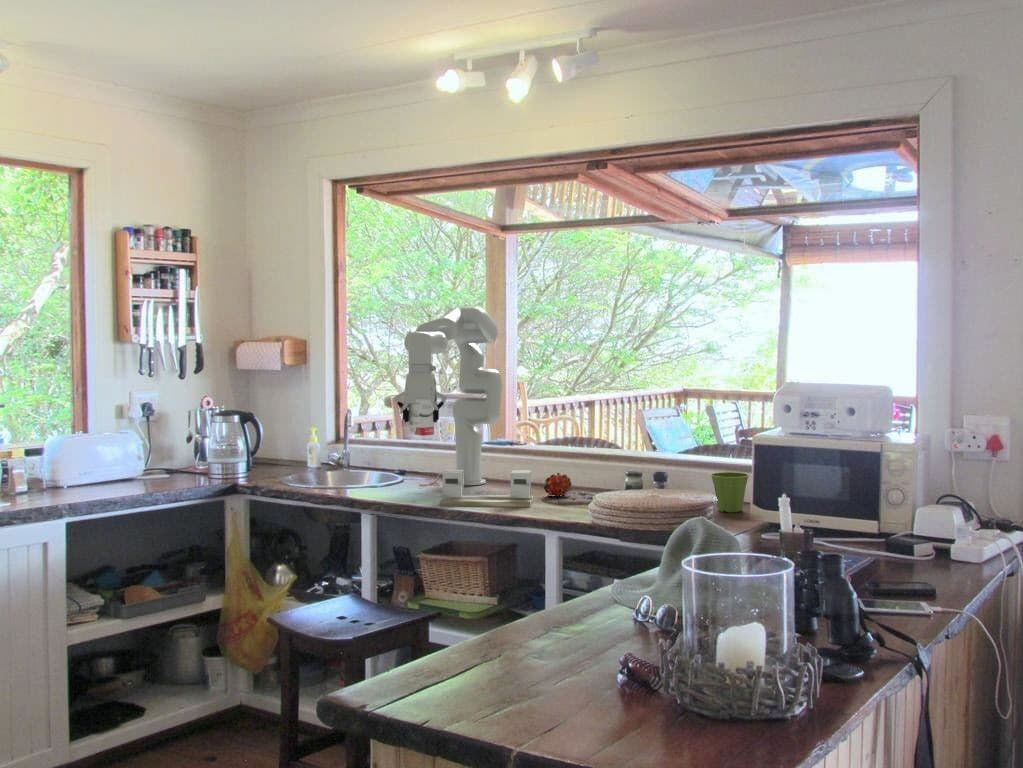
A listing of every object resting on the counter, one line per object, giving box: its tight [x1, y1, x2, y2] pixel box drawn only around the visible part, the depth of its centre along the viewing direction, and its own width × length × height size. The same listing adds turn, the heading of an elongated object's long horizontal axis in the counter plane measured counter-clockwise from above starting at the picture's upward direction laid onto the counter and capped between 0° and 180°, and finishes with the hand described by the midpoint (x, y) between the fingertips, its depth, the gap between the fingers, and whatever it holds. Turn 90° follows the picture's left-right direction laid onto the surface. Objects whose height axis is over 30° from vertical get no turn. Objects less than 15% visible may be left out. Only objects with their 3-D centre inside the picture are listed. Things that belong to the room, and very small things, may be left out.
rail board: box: [439, 469, 534, 508], centre depth 311 cm, size 12×29×10 cm, turn 85°
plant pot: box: [709, 471, 750, 513], centre depth 295 cm, size 12×12×11 cm
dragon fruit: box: [543, 472, 572, 497], centre depth 324 cm, size 8×8×12 cm
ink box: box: [407, 399, 435, 437], centre depth 315 cm, size 8×5×12 cm, turn 38°
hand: (420, 422), depth 315 cm, fingers closed on ink box, 9 cm apart
